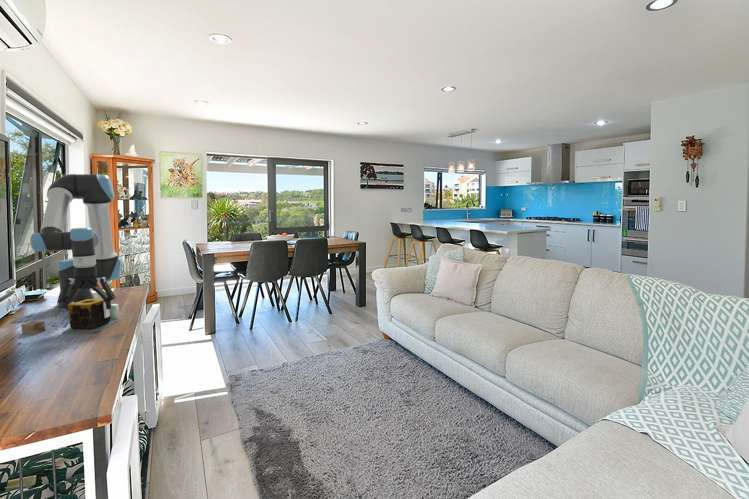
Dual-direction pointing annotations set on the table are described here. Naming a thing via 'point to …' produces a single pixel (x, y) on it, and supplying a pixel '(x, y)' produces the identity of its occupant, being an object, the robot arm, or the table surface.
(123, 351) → the table surface
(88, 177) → the robot arm
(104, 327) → the coaster
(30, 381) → the table surface
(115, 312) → the sage capsule
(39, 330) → the walnut block
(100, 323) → the candle
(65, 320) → the table surface
